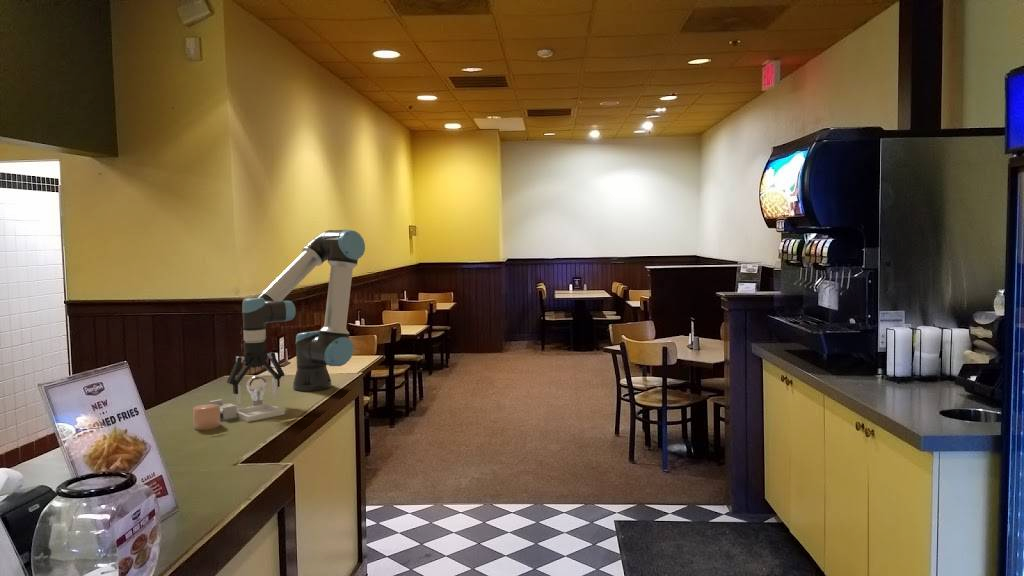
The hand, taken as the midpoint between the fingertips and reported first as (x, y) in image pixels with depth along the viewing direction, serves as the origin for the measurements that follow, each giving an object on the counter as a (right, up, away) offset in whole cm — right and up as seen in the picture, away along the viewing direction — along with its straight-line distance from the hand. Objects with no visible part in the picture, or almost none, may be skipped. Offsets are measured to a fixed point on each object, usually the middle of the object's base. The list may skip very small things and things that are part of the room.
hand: (257, 399), depth 255 cm
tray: (+5, -4, -12) cm, 13 cm away
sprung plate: (-7, -2, -12) cm, 15 cm away
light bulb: (0, -3, 0) cm, 3 cm away
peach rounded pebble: (-7, -5, -26) cm, 27 cm away
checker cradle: (-7, -4, -12) cm, 15 cm away
